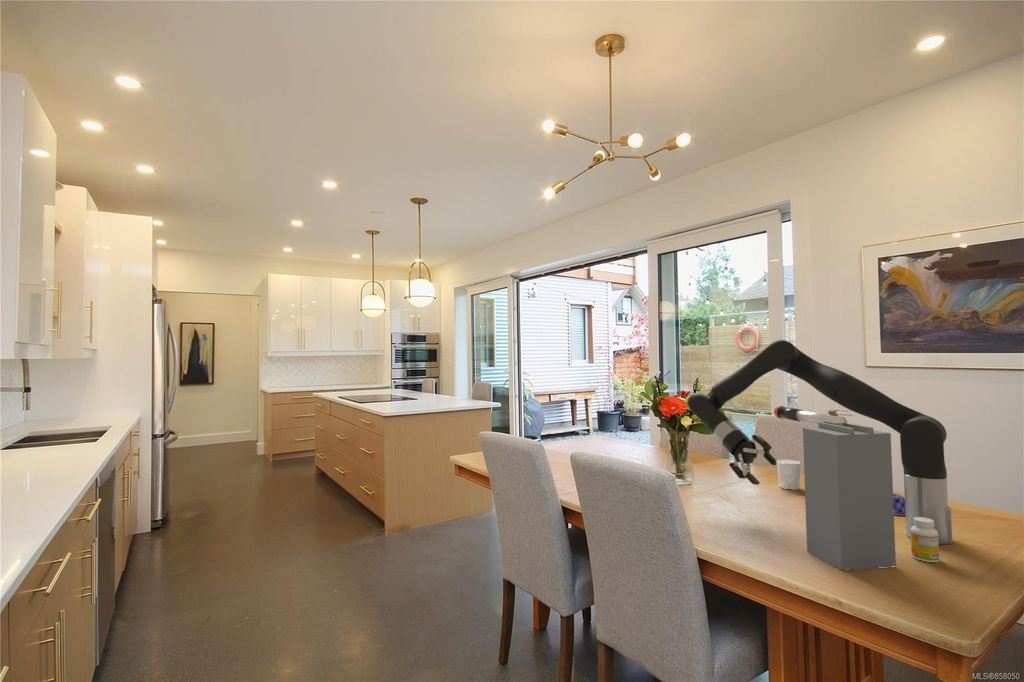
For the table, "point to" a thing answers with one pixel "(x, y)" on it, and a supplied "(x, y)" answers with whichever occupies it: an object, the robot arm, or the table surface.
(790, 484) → the white cup
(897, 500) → the pudding
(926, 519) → the supplement bottle
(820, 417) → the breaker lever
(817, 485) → the tall grey box
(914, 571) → the table surface
